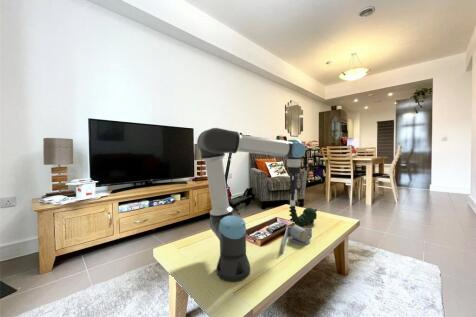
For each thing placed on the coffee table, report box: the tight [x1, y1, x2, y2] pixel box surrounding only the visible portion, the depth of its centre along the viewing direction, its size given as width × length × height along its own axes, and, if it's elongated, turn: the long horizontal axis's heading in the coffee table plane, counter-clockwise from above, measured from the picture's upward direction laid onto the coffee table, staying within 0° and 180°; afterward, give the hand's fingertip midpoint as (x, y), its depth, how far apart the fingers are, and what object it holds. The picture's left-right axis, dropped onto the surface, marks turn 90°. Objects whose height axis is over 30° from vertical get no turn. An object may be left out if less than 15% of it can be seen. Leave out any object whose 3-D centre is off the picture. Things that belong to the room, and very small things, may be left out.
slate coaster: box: [288, 235, 311, 246], centre depth 120 cm, size 12×12×1 cm
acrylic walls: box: [281, 225, 313, 255], centre depth 115 cm, size 26×15×5 cm, turn 161°
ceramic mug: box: [289, 224, 311, 242], centre depth 120 cm, size 11×8×8 cm
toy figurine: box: [288, 200, 318, 228], centre depth 145 cm, size 9×19×25 cm
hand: (293, 202), depth 118 cm, fingers open, 13 cm apart
